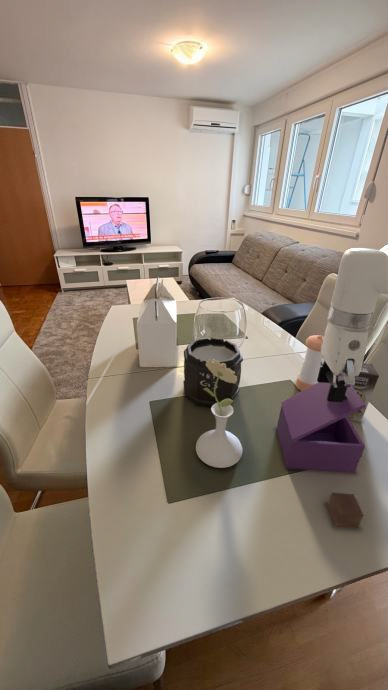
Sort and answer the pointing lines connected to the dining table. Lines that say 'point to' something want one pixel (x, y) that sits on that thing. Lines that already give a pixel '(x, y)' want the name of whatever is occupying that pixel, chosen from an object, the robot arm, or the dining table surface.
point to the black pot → (203, 378)
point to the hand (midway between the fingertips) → (329, 390)
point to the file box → (322, 447)
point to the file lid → (318, 408)
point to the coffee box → (364, 388)
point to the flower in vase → (219, 426)
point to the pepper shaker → (310, 363)
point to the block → (345, 510)
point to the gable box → (157, 328)
